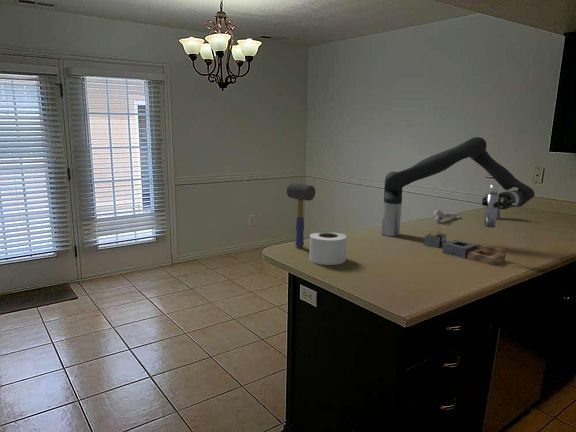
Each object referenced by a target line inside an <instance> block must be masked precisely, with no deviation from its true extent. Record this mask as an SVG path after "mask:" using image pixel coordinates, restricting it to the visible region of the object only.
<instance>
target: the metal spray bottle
mask: <svg viewBox="0 0 576 432" xmlns="http://www.w3.org/2000/svg"><path fill="white" fill-rule="evenodd" d="M489 185H490V186H489V193H487V194H488V195H487V204H486V206H485V215H484V216H485V217H484V223H483V224H484V227H485V228H489V229H490V228H496V223H497V220H496V217H497V208H498V207H497V208H495V207H494V204H495V202H498V199H499V193H498V191H499V184H492V183H491V184H489Z"/></svg>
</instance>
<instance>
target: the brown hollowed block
mask: <svg viewBox="0 0 576 432" xmlns="http://www.w3.org/2000/svg"><path fill="white" fill-rule="evenodd" d="M477 245H478V246H477V249H475V250H472V251H469V252H467V258H466V259H467V260H471V261H474V262H479V263H481V264H487V265H490V266H496V265H499V264H501V263H503V261H504V262H505V260H506V252H507V250H506V249H503V248H498V247H494V246H489V245H485V244H480V243H478V244H477Z"/></svg>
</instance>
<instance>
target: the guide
mask: <svg viewBox="0 0 576 432" xmlns="http://www.w3.org/2000/svg"><path fill="white" fill-rule="evenodd" d="M430 233H431V232H430ZM430 233H427V234H425V235H424V246H427V247H433V248H438V249H440V247H443V243H446V242H447V233H446V234H442V235H440V236H439V237H435V236H430Z"/></svg>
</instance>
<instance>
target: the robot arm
mask: <svg viewBox="0 0 576 432" xmlns="http://www.w3.org/2000/svg"><path fill="white" fill-rule="evenodd" d="M487 145H488V144H487V141H486V140H485V139H484V138H483V137H479V136H475V137H472V138H470V139H467V140H466V141H463V142H462V143H460V144H458V145H457V146H454V147H451V148H449V149H446V150H443V151H441V152H438V153H436V154H433V155H431V156H429V157H426V158H424V159H422V160H420V161H419V162H417V163H416V164H414V165H412V166H411V167H408V168H406V169H403V170H400V171H391V172H389V173H387V174H386V176H385V178H384V191H383V207H382V208H383V209H382V210H383V211H382V217H381V220H382V221H381V232H380V233H381V236H386V237H387V236H388V237H398V236H400V234H401V216H402V205H403V204H402V203H403V188H404V187H406V186H407V185H408V186H409V185H410V184H412V183H414V182H416V181H420V180H423V179H426V178H428V177H431V176H434V175H437V174H440V173H441V172H444V171H446V170H447V169H450V167H452V166H454V165H455V164H457V163H458V162H460V161H462V160H464V159H467V158H469V159H471V160H473V162H475V163H477V164H478V165H479V166H480V167H482V169H484V170H485V171H486V172H487V173H488V174H489V175H490V176H491V178H493V179H494V180H495V181H496V183H498V185H499V186H500V187H502V189H503V190H505V191H502V192H499V193H498V194H499V199H498V202H495V204H494V207H495V208H497V207H498V208H499V209H500V210H507V209H510V208H515V207H516V208H520V207H523V206H524V205H525V204H527V203H528V202H529V201H531V200H532V199H533V198H534V197H535V191H534V189H533V188H532V187H530V186H529V185H527V184H525V183H524V182H522V181H520V180H518V178H516V177H515V176H514V175H513V174H512V172H511V171H509V170H508V168H506V167H504V166H503V165H501V164H500V163H499V162H497V161H496V160H495V159H494V158H493V157H491V155H490V153H488V151H487ZM513 188H516V189H517V190H511V189H513ZM486 204H487V197H486V196H484V197H482V201H481V205H482V206H483V207H486Z"/></svg>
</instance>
